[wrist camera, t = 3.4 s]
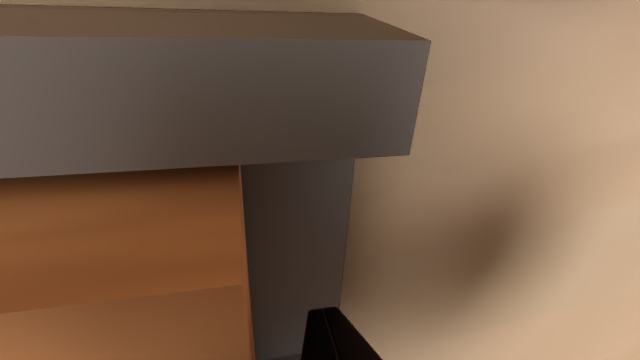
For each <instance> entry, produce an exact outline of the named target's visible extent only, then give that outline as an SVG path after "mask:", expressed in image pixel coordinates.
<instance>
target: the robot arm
mask: <svg viewBox="0 0 640 360" xmlns="http://www.w3.org/2000/svg"><path fill="white" fill-rule="evenodd" d="M301 360H382V359H381V358H380V356H379V355H378V354H377V353H376V352H375V351H374V349H373V348H372V347H371V346H370V345H369V343H368V342H367V341H366V340H365V339H364V338H363V336H362V335H361V334H360V333H359V332H358V331H357V329H356V328H355V327H354V326H353V325H352V324H351V322H350V321H349V320H348V319H347V318H346V317H345V315H344V314H343V313H342V312H341V311H340V310H339V309H338V308H337V307H335V306H333V307H325V308H318V309H311V310H309V311H308V314H307V321H306V327H305V334H304V340H303V347H302V353H301Z"/></svg>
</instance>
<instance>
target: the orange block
mask: <svg viewBox="0 0 640 360" xmlns="http://www.w3.org/2000/svg"><path fill="white" fill-rule="evenodd" d="M0 360H255V351H254V338H253V325H252V312H251V299H250V286H249V273H248V260H247V247H246V234H245V221H244V208H243V195H242V182H241V168H240V165H228V166H211V167H193V168H176V169H158V170H141V171H123V172H106V173H88V174H71V175H53V176H35V177H18V178H0Z"/></svg>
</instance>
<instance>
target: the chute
mask: <svg viewBox="0 0 640 360" xmlns="http://www.w3.org/2000/svg"><path fill="white" fill-rule="evenodd" d="M430 44H431V41H430V40H428V39H425V38H422V37H420V36H417V35H415V34H412V33H410V32H407V31H405V30H402V29H399V28H397V27H394V26H392V25H389V24H387V23H384V22H381V21H379V20H376V19H374V18H371V17H369V16H366V15H364V14H351V13H312V12H274V11H236V10H197V9H159V8H121V7H82V6H44V5H6V4H0V178H18V177H35V176H53V175H71V174H88V173H106V172H123V171H141V170H158V169H176V168H193V167H211V166H228V165H240V168H241V182H242V195H243V208H244V221H245V234H246V247H247V260H248V273H249V286H250V299H251V312H252V325H253V338H254V351H255V360H301V353H302V347H303V340H304V334H305V327H306V321H307V314H308V311H309V310H311V309H318V308H325V307H333V306H335V307H337V308H338V309H339V305H340V296H341V286H342V277H343V267H344V258H345V248H346V238H347V229H348V219H349V210H350V200H351V191H352V181H353V172H354V162H355V158H369V157H386V156H404V155H409V154H410V149H411V144H412V139H413V133H414V128H415V123H416V117H417V112H418V107H419V102H420V96H421V91H422V86H423V80H424V75H425V70H426V65H427V59H428V54H429V49H430Z"/></svg>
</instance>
